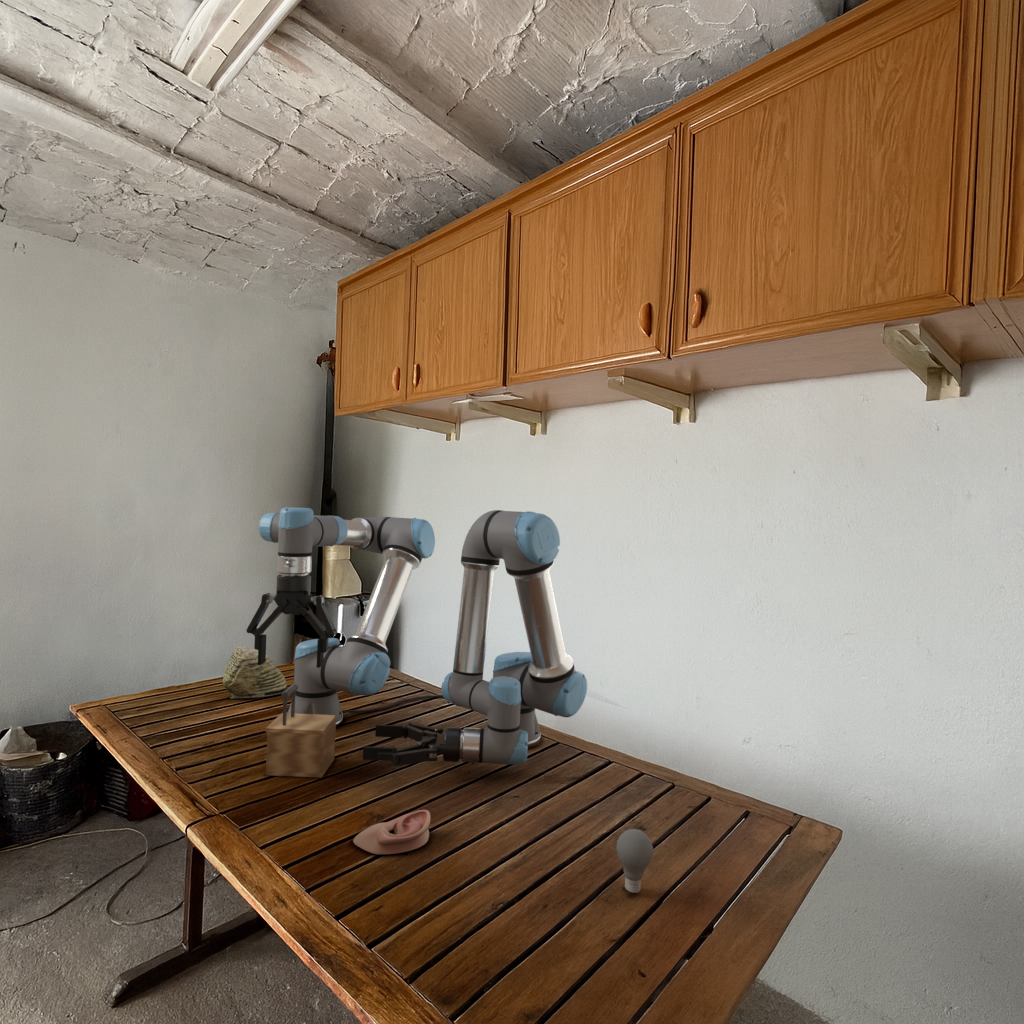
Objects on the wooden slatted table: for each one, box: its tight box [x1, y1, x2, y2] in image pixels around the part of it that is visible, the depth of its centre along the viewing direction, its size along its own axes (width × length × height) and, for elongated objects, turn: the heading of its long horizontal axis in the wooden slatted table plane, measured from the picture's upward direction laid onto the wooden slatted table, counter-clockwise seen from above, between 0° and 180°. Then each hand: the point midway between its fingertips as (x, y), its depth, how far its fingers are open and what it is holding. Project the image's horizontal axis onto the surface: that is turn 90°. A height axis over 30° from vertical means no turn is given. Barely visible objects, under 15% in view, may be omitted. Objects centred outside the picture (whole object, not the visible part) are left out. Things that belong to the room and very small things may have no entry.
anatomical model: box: [352, 809, 431, 856], centre depth 118 cm, size 13×4×12 cm
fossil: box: [222, 646, 288, 699], centre depth 198 cm, size 9×18×15 cm, turn 132°
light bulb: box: [615, 828, 654, 894], centre depth 106 cm, size 6×6×10 cm
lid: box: [265, 683, 336, 735], centre depth 148 cm, size 13×10×9 cm
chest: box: [265, 719, 337, 778], centre depth 148 cm, size 13×10×10 cm
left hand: (290, 665), depth 147 cm, fingers open, 13 cm apart
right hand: (369, 741), depth 147 cm, fingers open, 13 cm apart
